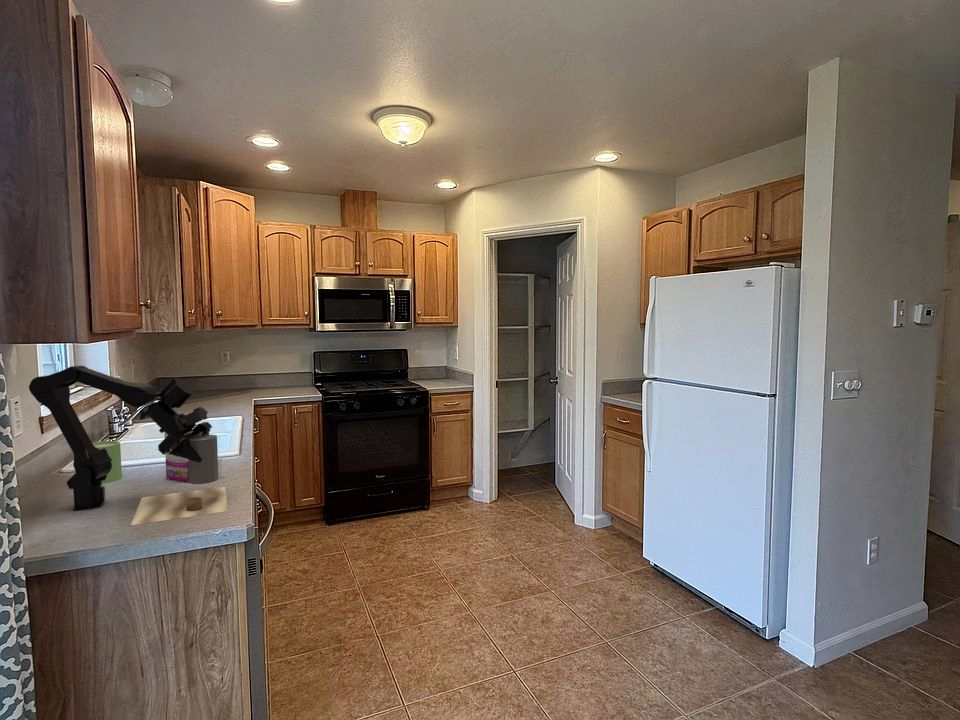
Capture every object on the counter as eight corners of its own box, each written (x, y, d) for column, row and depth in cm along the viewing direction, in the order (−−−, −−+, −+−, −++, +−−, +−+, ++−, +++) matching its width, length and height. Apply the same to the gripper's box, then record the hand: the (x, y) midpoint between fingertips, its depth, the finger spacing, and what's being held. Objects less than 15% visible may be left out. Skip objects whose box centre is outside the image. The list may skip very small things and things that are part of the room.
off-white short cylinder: (213, 483, 171) (212, 462, 171) (194, 482, 172) (193, 461, 172) (227, 477, 178) (226, 457, 177) (209, 476, 179) (208, 456, 179)
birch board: (130, 529, 133) (130, 525, 133) (142, 500, 154) (141, 497, 154) (227, 514, 143) (227, 510, 143) (225, 489, 164) (225, 486, 164)
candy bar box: (202, 479, 176) (201, 430, 175) (189, 483, 171) (187, 433, 170) (179, 475, 180) (177, 428, 179) (165, 479, 176) (163, 430, 175)
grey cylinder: (188, 485, 146) (187, 441, 145) (189, 478, 153) (187, 436, 152) (218, 481, 150) (217, 438, 149) (218, 475, 156) (216, 433, 155)
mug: (109, 473, 182) (107, 439, 181) (128, 477, 178) (126, 442, 177) (68, 484, 171) (66, 447, 170) (87, 488, 166) (85, 450, 166)
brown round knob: (186, 512, 142) (185, 503, 142) (186, 507, 146) (186, 498, 145) (202, 509, 144) (201, 500, 144) (202, 505, 147) (202, 496, 147)
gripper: (167, 404, 140) (210, 445, 141) (204, 395, 159) (242, 431, 160) (139, 433, 141) (182, 474, 142) (179, 420, 160) (217, 457, 160)
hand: (207, 457), depth 151 cm, fingers closed on grey cylinder, 7 cm apart
